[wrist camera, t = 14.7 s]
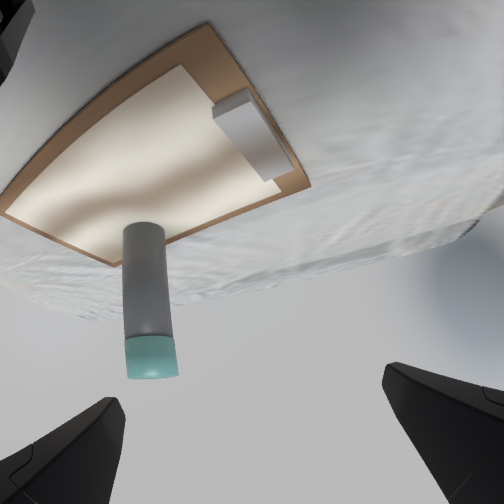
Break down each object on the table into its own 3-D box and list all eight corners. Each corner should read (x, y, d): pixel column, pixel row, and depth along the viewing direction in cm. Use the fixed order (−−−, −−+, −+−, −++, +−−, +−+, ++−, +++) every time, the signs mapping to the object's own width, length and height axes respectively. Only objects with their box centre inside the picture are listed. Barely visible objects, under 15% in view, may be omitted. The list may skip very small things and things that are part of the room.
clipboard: (-8, 206, 17) (-13, 224, 16) (207, 22, 10) (209, 34, 10) (114, 263, 29) (113, 278, 28) (310, 182, 22) (315, 200, 21)
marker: (113, 233, 23) (117, 378, 18) (145, 216, 22) (155, 373, 17) (142, 248, 26) (151, 379, 21) (174, 234, 25) (188, 374, 20)
